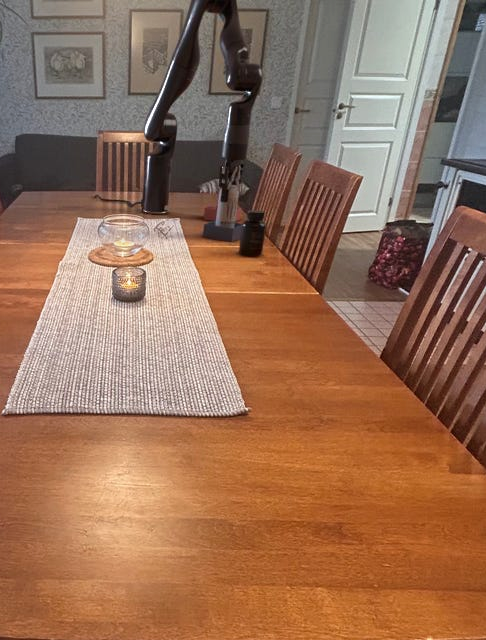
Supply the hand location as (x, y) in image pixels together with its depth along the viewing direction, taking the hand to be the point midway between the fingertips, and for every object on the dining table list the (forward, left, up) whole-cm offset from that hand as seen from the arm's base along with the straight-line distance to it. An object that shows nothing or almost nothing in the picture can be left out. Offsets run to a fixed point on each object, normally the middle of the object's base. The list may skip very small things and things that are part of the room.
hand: (228, 200), depth 189 cm
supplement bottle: (+16, -17, -11) cm, 26 cm away
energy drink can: (0, 0, -11) cm, 11 cm away
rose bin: (-13, +28, -11) cm, 33 cm away
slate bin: (0, 0, -11) cm, 11 cm away
